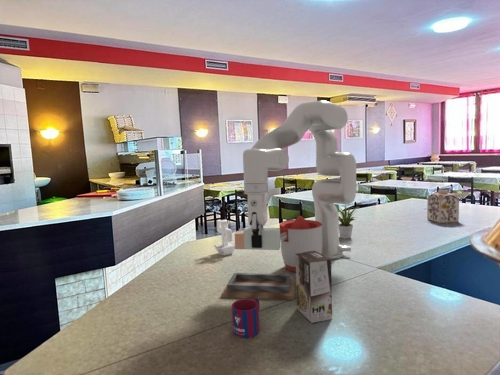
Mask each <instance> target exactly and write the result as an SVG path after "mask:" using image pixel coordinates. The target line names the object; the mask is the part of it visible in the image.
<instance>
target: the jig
mask: <svg viewBox="0 0 500 375" xmlns="http://www.w3.org/2000/svg"><path fill="white" fill-rule="evenodd" d="M295 287H296V277H292V274H291V273H288V274H287V273H254V272H253V273H250V272H234V273H233V274H232V276H231V277H230V279H229V280H228V281H227V284H226V286H225V287H224V289H223V290H222V292H221V298H235V299H236V298H238V299H239V298H240V299H253V298H258V299H260V300H261V299H267V300H289V301H290V300H291V301H292V300H294V297H295V289H296V288H295Z"/></svg>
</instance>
